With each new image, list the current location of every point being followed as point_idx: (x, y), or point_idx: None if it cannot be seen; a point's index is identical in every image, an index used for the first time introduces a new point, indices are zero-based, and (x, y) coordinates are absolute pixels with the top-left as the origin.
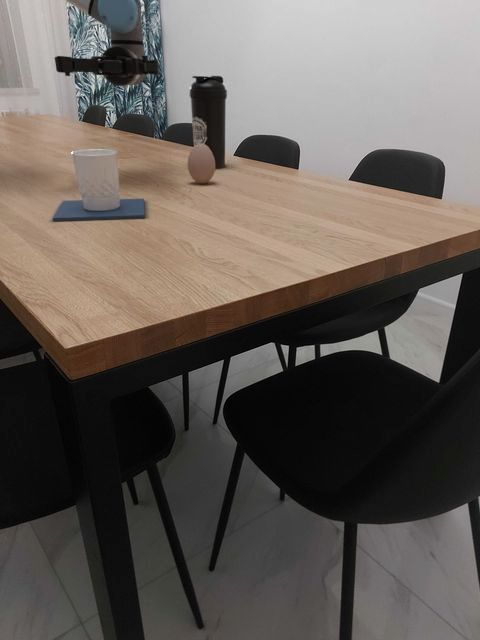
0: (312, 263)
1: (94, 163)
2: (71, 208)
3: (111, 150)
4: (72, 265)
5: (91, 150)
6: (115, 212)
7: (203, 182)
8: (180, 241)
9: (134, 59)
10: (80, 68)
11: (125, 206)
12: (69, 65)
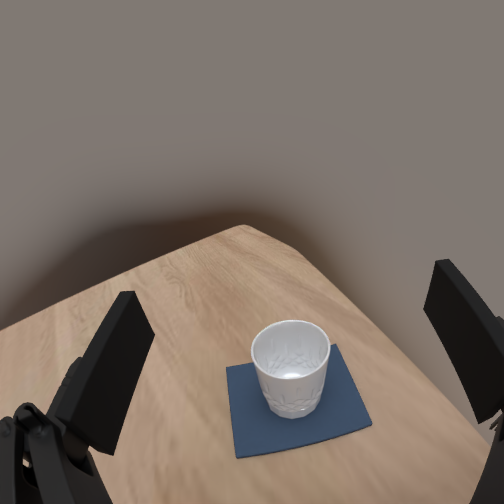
0: (123, 282)
1: (282, 330)
2: (335, 385)
3: (265, 371)
4: (266, 266)
5: (308, 373)
6: None
7: None
8: (192, 308)
9: (126, 295)
10: (487, 477)
11: (258, 405)
12: (472, 360)
